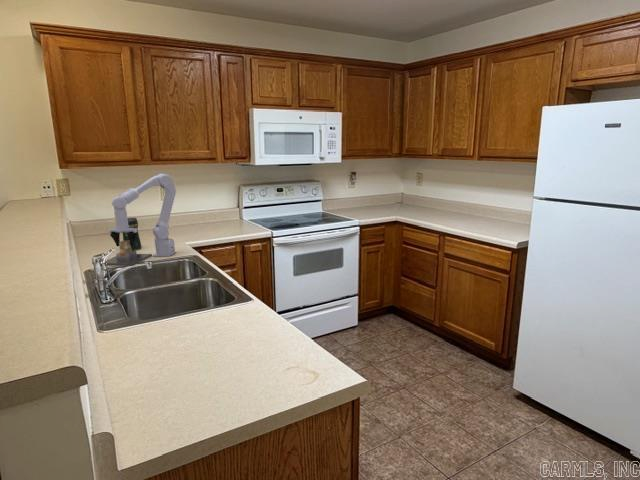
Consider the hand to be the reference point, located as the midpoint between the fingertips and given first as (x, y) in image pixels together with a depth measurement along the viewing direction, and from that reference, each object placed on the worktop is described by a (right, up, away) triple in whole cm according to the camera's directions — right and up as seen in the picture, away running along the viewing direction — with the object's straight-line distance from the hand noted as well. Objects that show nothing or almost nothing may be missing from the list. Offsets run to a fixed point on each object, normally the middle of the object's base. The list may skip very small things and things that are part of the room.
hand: (125, 246), depth 214 cm
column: (0, -4, +1) cm, 4 cm away
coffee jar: (-8, -2, +26) cm, 28 cm away
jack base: (0, -8, +2) cm, 8 cm away
